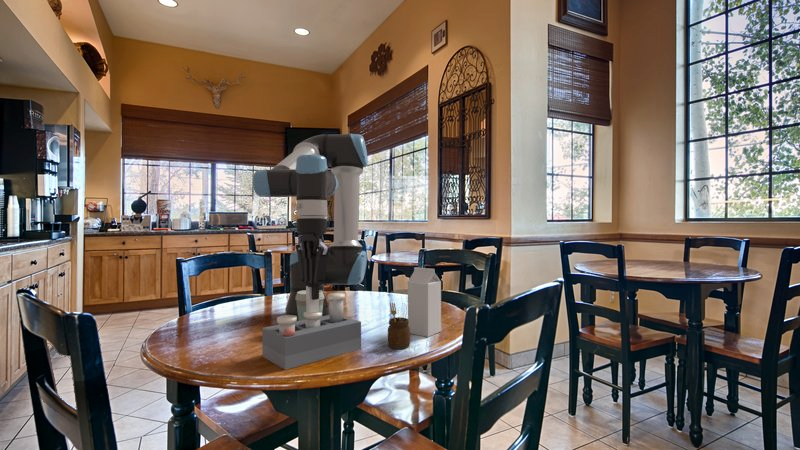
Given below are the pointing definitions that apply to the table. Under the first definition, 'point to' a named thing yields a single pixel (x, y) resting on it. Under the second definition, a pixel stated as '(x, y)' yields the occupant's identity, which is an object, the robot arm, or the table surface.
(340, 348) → the grey tube rack
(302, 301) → the coffee cup
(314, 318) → the knob middle
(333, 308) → the knob far
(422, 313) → the milk carton
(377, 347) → the table surface
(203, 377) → the table surface
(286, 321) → the white capped tube
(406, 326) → the utensil holder
